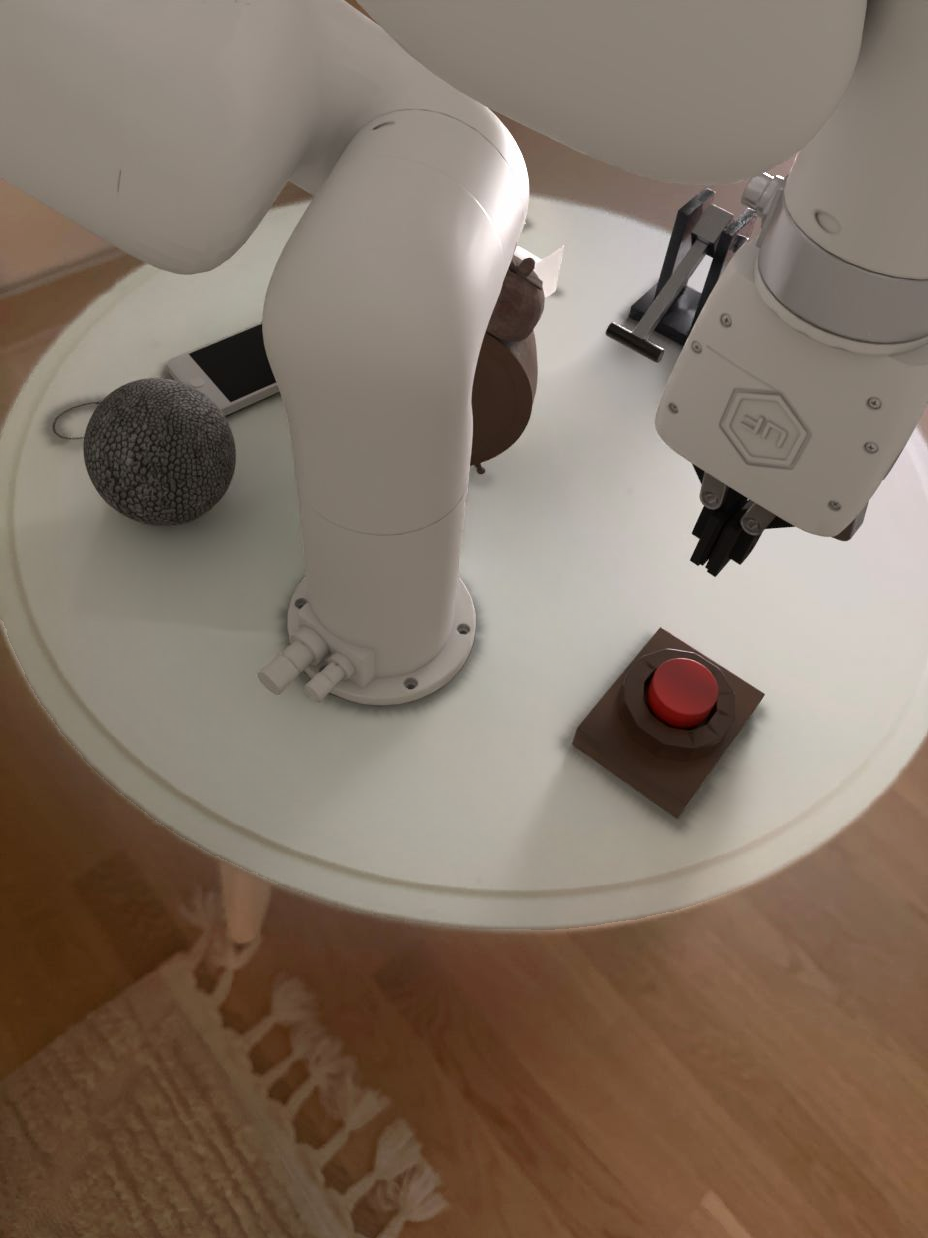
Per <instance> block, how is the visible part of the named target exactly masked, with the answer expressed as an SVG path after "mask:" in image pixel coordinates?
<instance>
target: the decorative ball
mask: <svg viewBox="0 0 928 1238" xmlns="http://www.w3.org/2000/svg"><path fill="white" fill-rule="evenodd" d="M100 401H101V403H99V405H98V404H97V406H96V407H95V409H94V411H93V412H92V413H91V415H90V417H89V419H88V422H87V425H86V428H85V432H84V436H83V437H84V438H83V444H82V445H83V446H82V447H83V460H84V465H85V469H86V472H87V475H88V477H89V480H90V482H91V484H92V486H93V487H94V489H95V491H96V492H97V493H98V495H99V496H100V497H101V498H102V500H104V502H105V503H106V504H107V505H109V506H110V508H112V509H114V511H116V512H118V514H120V515H122V516H124V517H126V518H128V519H130V520H132V521H134V522H138V523H141V524H145V525H149V526H157V527H171V526H172V527H173V526H179V525H183V524H187V523H190V522H192V521H195V520H197V519H199V518H200V517H202V516H203V515H205V514H207V513H208V512H209V511H211V510H212V509H213V508H214V507H215V506H216V505H217V504H218V503H219V502H220V500H222V498H223V497H224V495H225V494H226V492H227V491H228V489H229V487H230V485H231V482H232V481H233V477H234V474H235V469H236V463H237V450H236V449H237V448H236V443H235V437H234V434H233V431H232V428H231V425H230V423H229V421H228V419H227V417H226V416H224V415H223V413H222V412H221V410H220V409H219V408H218V406H217V405H216V404H215V403H214V402H213V401H212V400H211V399H210V398H208V397H207V396H206V395H205V394H203V393H202V392H200V391H199V390H197V389H195V388H194V387H192V386H190V385H187V384H185V383H182V382H179V381H176V380H174V379H170V378H163V377H149V378H148V377H147V378H141V379H136V380H133V381H130V382H128V383H125V384H123V385H120V386H119V387H118V388H115V389H113V391H111V392H110V393H108V394H107V395H106V396H105V397H104V398H103V399H102V400H100Z"/></svg>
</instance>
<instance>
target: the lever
mask: <svg viewBox="0 0 928 1238" xmlns="http://www.w3.org/2000/svg"><path fill="white" fill-rule="evenodd" d="M734 217H735V216H734V214H733V213H731V212H729V211H727V210H725V209H723V208H721V207H719V206H717V205H716V204H714V203H712V204H710V205H709V206H708V208H707V209H706V210H705V212H704V213H703V215H702V216H701V218H700V219H699V221H698V222H697V223H696V225H695V226H694V228H693V229H692V231H691V246H692V247H691V248H690V250H689V251H688V253H687V254H686V255H685V257H684V258H683V260H682V261H681V263H680V264H679V266H678V267H677V268H676V270H675V271H674V273H673V274H672V276H671V277H670V279H669V280H668V281H667V283H666V284H665V286H664V287H663V289H662V290H661V292H660V293H659V294H658V296H657V297H656V299H655V300H654V302H653V303H652V304H651V306H650V307H649V309H648V310H647V312H646V313H645V315H644V316H643V317H642V319H641V320H640V322H637V325H636V326H635V327H634V329H633V330H632V331H631V330H629V329H628V328H626V327H624V326H622V325H620V324H618V323H617V322H614V321H611V322H610V323H609V325H608V326H607V328H606V330H605V336H607V337H609V338H610V339H612V340H614V341H616V342H617V343H619V344H621V345H623V346H624V347H627V348H628V349H630V350H632V351H633V352H636V353H637V354H638V355H639V354H640V355H641V356H643V357H644V358H647V359H648V360H650V361H652V362H654V363H655V364H660V362H661V361H662V360H663V358H664V356H665V353H666V350H665V349H664V348H663V347H661V346H658V344H655V343H654V342H651V341H650V340H648V339H649V337H650V336H651V335H652V333H653V332H654V329H655V327H656V326H657V325H658V323H659V322H660V320H661V319H662V317H663V316H664V314H665V313H666V312H667V310H668V309H669V307H670V306H671V304H672V303H673V301H674V300H675V299H676V297H677V296H678V294H679V293H680V291H681V290H682V288H683V287H684V286H685V284H686V283H687V281H688V282H689V280H690V278H691V277H692V276H693V274H694V273H695V271H696V270H697V268H699V266H700V264H701V263H702V261H703V260H704V259H705V257H706V256H708V257H710V258H712V259H713V257H714V254H715V251H716V247H717V244H718V241H719V238H720V235H721V232H722V231H723V230H724V229H725V228H726V227H727V226H729V225H730V224H731V223H732V222H733V221H734V220H735V219H734ZM687 284H688V283H687Z"/></svg>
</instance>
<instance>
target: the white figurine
mask: <svg viewBox="0 0 928 1238" xmlns="http://www.w3.org/2000/svg"><path fill="white" fill-rule="evenodd" d="M564 247H565V244H563V245H561V246H559V247H558V248H556V249H555V250H554V251H552V252H551V253H549V254H547V255H546V256H545V257H543V258H539V257H538V256H537V255H535V254H533V253H531V252H529V251H528V250H526V249H524V248H522V247H521V246H519V244H518V245H517V247H516V250H515V253H514V255H515V256H516V257H518V258H520V259H521V260H524V259H525V258H529V257H530V258H533V259H534V261H535V268H534V272H535V273H536V274H537V275H538V277H539V279H540V280H541V281H543V285H542V286H543V290H544V295H545V300H546V299H547V298H548V297H550V296H551V295H553V294H554V293H555V292H557V287H558V281H559V276H560V271H561V265H562V260H563V255H564Z"/></svg>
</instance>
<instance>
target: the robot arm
mask: <svg viewBox="0 0 928 1238" xmlns="http://www.w3.org/2000/svg"><path fill="white" fill-rule="evenodd" d="M355 1H356V2H357V4H358V5H359V6H360V7H361V8H362V10H364V11H365V12H366V13H367V14H368V15H369V16H370V18H369V17H368V16H367V15H365V13H363V12H361V11H360V10H359V9H357V8H356V7H355V6H353V5H352V4H350V3H348V2H347V1H346V0H0V179H1V180H3V181H4V182H7V183H8V184H10V185H11V186H13V187H15V188H16V189H18V190H19V191H21V192H23V193H25V194H26V195H28V196H30V197H31V198H33V199H35V200H36V201H38V202H40V203H41V204H43V205H44V206H46V207H48V208H49V209H51V210H53V211H55V212H56V213H57V214H60V215H61V216H63V217H64V218H66V219H68V220H70V221H71V222H72V223H74V224H76V225H77V226H79V227H81V228H82V229H84V230H86V231H88V233H91V234H93V235H94V236H96V237H98V238H100V239H101V240H103V241H105V242H106V243H108V244H110V245H112V246H113V247H115V248H116V249H118V250H120V251H122V252H124V253H126V254H127V255H129V256H131V257H133V258H134V259H137V260H138V261H141V262H144V263H146V264H147V265H150V266H152V267H154V268H157V269H158V270H160V271H161V270H162V271H165V272H169V273H172V274H175V275H183V276H187V275H189V276H191V275H197V274H202V273H208V272H210V271H212V270H215V269H216V268H218V267H220V266H222V265H223V264H224V263H226V262H227V261H228V260H230V259H231V258H232V257H233V256H234V255H235V254H236V253H237V252H238V251H239V250H240V249H241V248H242V247H243V246H244V245H245V244H246V243H247V241H248V240H249V239H250V237H251V236H252V235H253V234H254V232H255V231H256V230H257V229H258V227H259V226H260V224H261V222H262V221H263V220H264V218H265V217H266V215H267V214H268V213H269V211H270V209H271V208H272V206H273V205H274V204H275V202H276V200H277V199H278V197H279V196H280V195H281V193H282V191H283V190H284V188H285V187H286V186H287V184H288V182H289V183H291V184H293V185H294V186H296V187H298V188H299V189H301V190H303V191H305V192H306V193H308V194H309V195H311V196H313V198H312V199H311V201H310V203H309V204H308V205H307V207H306V209H305V211H304V212H303V214H302V216H301V217H300V218H299V221H298V222H297V223H296V225H295V227H294V228H293V230H292V232H291V234H290V236H289V237H288V239H287V241H286V242H285V245H284V246H283V249H282V251H281V253H280V255H279V256H278V259H277V261H276V263H275V266H274V268H273V271H272V273H271V276H270V279H269V282H268V286H267V288H266V292H265V296H264V302H263V307H262V308H263V309H262V319H261V322H262V332H263V340H264V346H265V350H266V354H267V358H268V361H269V363H270V366H271V369H272V372H273V375H274V377H275V380H276V383H277V385H278V388H279V391H280V392H279V393H280V396H281V399H282V403H283V407H284V410H285V415H286V419H287V424H288V425H287V426H288V429H289V436H290V443H291V452H292V460H293V470H294V478H295V483H296V489H297V490H296V492H297V502H298V511H299V521H300V530H301V541H302V550H303V560H304V568H305V575H304V577H302V579H301V580H300V582H298V584H297V585H296V588H295V590H294V592H293V594H292V596H291V598H290V601H289V605H288V610H287V634H288V640H289V645H288V646H287V647H286V648H285V649H284V650H283V651H282V652H280V653H278V654H277V655H276V656H274V657H273V658H272V659H271V660H270V661H269V662H268V663H267V664H266V665H265V666H263V667H262V668H261V669H260V670H259V671H258V672H257V673H256V674H257V679H258V680H259V682H260V683H261V684H262V685H263V687H264V688H265V689H266V690H268V691H269V692H270V693H271V694H273V695H275V696H280V695H281V694H282V693H283V692H284V691H285V690H286V689H288V688H289V687H290V686H291V685H292V684H293V683H295V681H296V680H297V679H298V678H300V675H301V673H303V672H304V673H305V674H306V675H307V676H308V677H309V678H310V680H309V681H308V682H307V683H306V684H305V685H304V686H303V689H304V692H305V693H306V695H307V697H309V698H310V699H311V700H313V701H314V702H316V703H320V702H322V701H323V699H324V698H325V697H327V696H328V695H329V693H330V694H332V695H335V696H337V697H339V698H342V699H344V700H346V701H350V702H354V703H358V704H362V705H371V706H391V705H401V704H405V703H410V702H413V701H417V700H420V699H423V698H424V697H427V696H428V695H431V694H433V693H435V692H437V691H438V690H440V689H441V688H442V687H444V686H445V685H446V684H448V683H449V682H450V681H451V680H452V679H454V677H455V676H456V675H457V674H458V673H459V672H460V671H461V669H462V668H463V666H464V665H465V663H466V661H467V660H468V658H469V656H470V653H471V650H472V648H473V645H474V642H475V635H476V630H477V629H476V628H477V625H476V624H477V623H476V621H477V620H476V619H477V618H476V615H477V614H476V609H475V605H474V601H473V598H472V596H471V594H470V592H469V590H468V587H467V586H466V584H465V583H464V581H462V579H461V577H460V576H459V572H460V562H461V554H462V547H463V546H462V544H463V536H464V528H465V520H466V519H465V518H466V509H467V502H468V491H469V482H470V481H469V480H470V468H471V466H470V460H471V450H472V437H473V414H472V405H471V397H472V386H473V380H474V374H475V369H476V365H477V361H478V357H479V353H480V349H481V345H482V342H483V338H484V335H485V332H486V329H487V326H488V323H489V320H490V317H491V315H492V312H493V310H494V307H495V305H496V302H497V299H498V297H499V294H500V291H501V288H502V284H503V281H504V278H505V276H506V273H507V270H508V268H509V265H510V263H511V260H512V258H513V255H514V253H515V250H516V247H517V245H518V246H519V242H520V239H521V235H522V233H523V231H524V226H525V224H524V223H525V222H526V219H527V216H528V210H529V204H530V203H529V202H530V183H529V182H530V181H529V175H528V170H527V166H526V162H525V159H524V156H523V154H522V152H521V150H520V148H519V146H518V144H517V141H516V140H515V138H514V137H513V135H512V133H511V132H510V131H509V129H508V128H507V127H506V126H505V124H504V123H503V122H502V121H501V120H500V118H499V117H498V116H497V115H496V114H495V113H494V112H496V113H498V114H500V115H502V116H504V117H506V118H508V119H510V120H512V121H514V122H516V123H518V124H520V125H522V126H524V127H526V128H528V129H530V130H533V131H534V132H536V133H539V134H541V135H542V136H545V137H547V138H549V139H550V140H553V141H555V142H557V143H560V144H561V145H564V146H566V147H567V148H569V149H572V150H574V151H577V152H579V153H581V154H582V155H585V156H587V157H590V158H591V159H594V160H596V161H598V162H601V163H604V164H606V165H609V166H612V167H614V168H617V169H619V170H622V171H624V172H625V173H629V174H633V175H635V176H639V177H642V178H646V179H651V180H656V181H660V182H663V183H668V184H672V185H680V186H692V187H693V186H696V187H712V186H721V185H731V184H738V183H741V182H744V181H746V180H749V181H748V182H747V183H746V185H745V187H744V190H743V192H742V195H741V198H740V203H741V205H743V206H744V207H747V208H750V209H752V210H754V211H755V215H756V216H757V218H760V219H761V221H760V228H761V230H760V233H759V234H757V235H755V236H754V237H753V238H752V239H749V241H748V242H746V243H745V244H743V245H742V246H741V247H740V248H739V249H738V250H737V252H736V253H735V255H734V256H733V257H732V259H731V260H730V262H729V263H728V265H727V267H726V268H725V270H724V271H723V273H722V275H721V276H720V278H719V280H718V282H717V283H716V285H715V287H714V288H713V290H712V292H711V294H710V295H709V297H708V299H707V301H706V303H705V305H704V307H703V309H702V311H701V313H700V315H699V316H698V318H697V320H696V322H695V324H694V326H693V329H692V331H691V333H690V335H689V337H688V339H687V341H686V343H685V345H684V347H683V346H682V347H683V348H682V349H681V351H680V353H679V356H678V358H677V360H676V362H675V365H674V367H673V369H672V371H671V373H670V375H669V378H668V380H667V382H666V384H665V387H664V389H663V392H662V395H661V397H660V400H659V403H658V406H657V409H656V412H655V416H654V426H655V431H656V432H657V435H658V437H659V438H660V439H661V440H662V442H664V443H665V445H666V446H668V448H669V449H671V450H672V451H673V452H674V453H676V454H677V455H678V456H680V457H682V458H683V459H684V460H686V461H688V462H689V463H691V465H692V467H693V470H694V472H695V474H696V476H697V478H698V481H699V482H700V485H701V486H700V491H699V495H698V497H699V501H700V502H701V504H702V506H703V507H702V509H701V511H700V513H699V515H698V518H697V519H696V522H695V524H694V527H693V529H692V531H691V535H693V536H694V537H696V538H697V539H698V542H697V543H696V546H695V547H694V550H693V552H692V554H691V556H690V559H689V561H690V562H691V563H693V564H694V565H695V566H697V567H699V566H702V567H703V566H704V567H705V569H706V573H709V575H711V576H713V577H714V578H716V577H717V576H718V575H719V574H720V573H721V572H722V570H723V569H724V568H725V567H726V566H727V564H729V562H730V561H733V562H734V563H736V564H738V565H739V566H740V565H742V564H743V563H744V562H745V560H747V558H748V557H749V556H750V554H751V553H752V552H753V550H754V548H755V547H756V545H757V543H758V542H759V540H760V538H761V536H762V534H763V532H764V531H765V530H771V529H772V530H773V529H786V528H797V529H798V530H801V531H803V532H805V533H808V534H811V535H814V536H819V537H823V538H824V537H826V538H832V539H835V540H838V541H841V542H848V541H850V540H852V538H853V536H854V535H855V534H856V533H857V532H858V530H859V529H860V528H861V526H862V525H863V523H864V521H865V517H866V513H867V509H868V506H869V502H870V500H871V498H873V496H874V495H875V493H876V491H877V490H878V489H879V487H880V485H881V484H882V482H883V481H884V480H885V479H886V478H887V476H888V475H889V474H890V472H891V471H892V469H893V468H894V466H895V464H897V463H896V462H897V461H898V459H899V458H900V456H901V454H902V453H903V451H904V450H905V447H906V446H907V444H908V442H909V440H910V438H911V437H912V435H913V433H914V431H915V429H916V428H917V426H918V424H919V422H920V420H921V419H922V416H923V414H924V412H925V410H926V408H927V407H928V0H355ZM371 18H372V19H373V20H372V19H371ZM795 155H796V156H795ZM793 157H795V158H794V161H793V163H792V166H791V167H790V170H789V173H788V174H787V175H786V176H785V177H783V176H781V175H778V174H777V175H775V176H771V175H770V174H768V173H767V172H769V171H772V170H773V169H775V168H777V167H778V166H780V165H782V164H784V163H786V162H788V161H789V160H790V159H792V158H793Z"/></svg>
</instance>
